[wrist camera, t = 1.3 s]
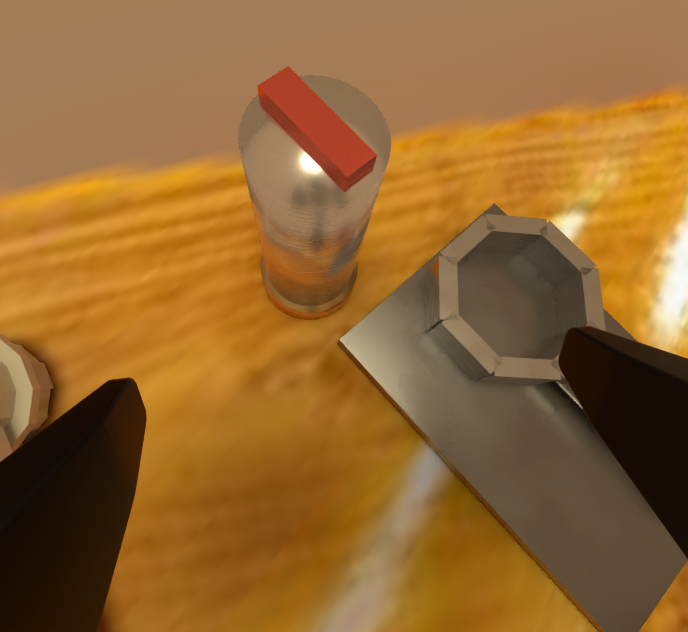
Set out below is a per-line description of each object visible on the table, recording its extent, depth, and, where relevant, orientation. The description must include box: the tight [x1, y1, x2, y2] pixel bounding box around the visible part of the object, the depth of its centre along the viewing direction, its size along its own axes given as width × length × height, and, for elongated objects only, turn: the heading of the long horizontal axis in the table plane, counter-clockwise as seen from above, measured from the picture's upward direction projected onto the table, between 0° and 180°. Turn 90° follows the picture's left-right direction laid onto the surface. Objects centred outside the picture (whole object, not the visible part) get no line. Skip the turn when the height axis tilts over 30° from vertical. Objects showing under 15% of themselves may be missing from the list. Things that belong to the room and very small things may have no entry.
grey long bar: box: [0, 335, 54, 461], centre depth 18 cm, size 5×7×25 cm
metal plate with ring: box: [338, 203, 688, 632], centre depth 23 cm, size 21×13×4 cm, turn 42°
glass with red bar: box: [238, 67, 391, 320], centre depth 19 cm, size 5×5×13 cm
